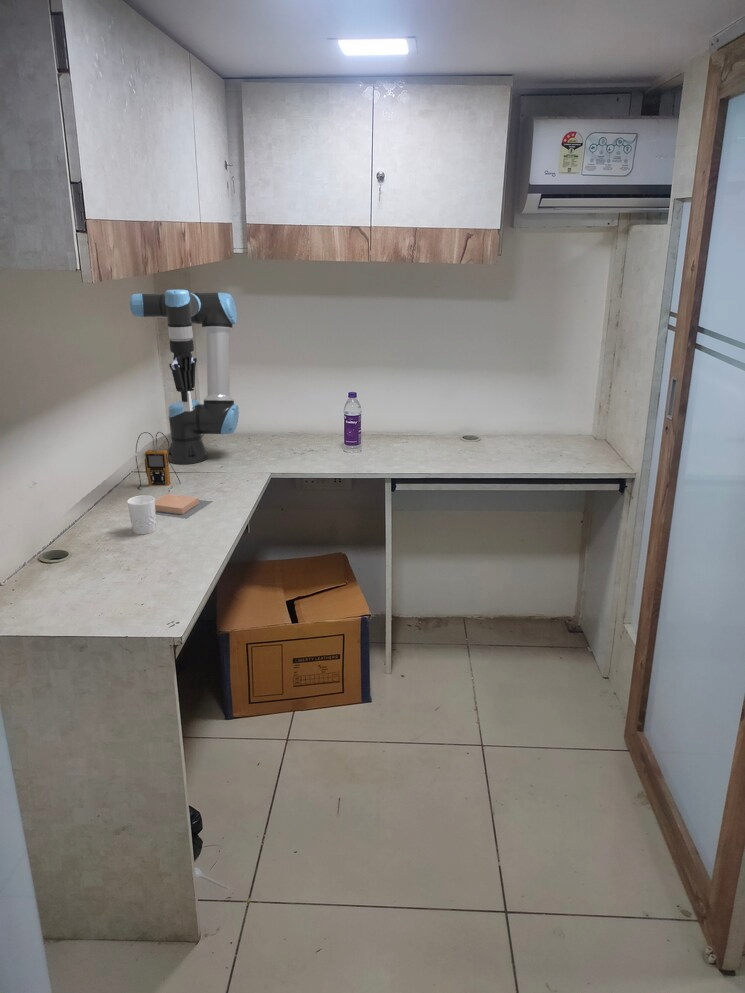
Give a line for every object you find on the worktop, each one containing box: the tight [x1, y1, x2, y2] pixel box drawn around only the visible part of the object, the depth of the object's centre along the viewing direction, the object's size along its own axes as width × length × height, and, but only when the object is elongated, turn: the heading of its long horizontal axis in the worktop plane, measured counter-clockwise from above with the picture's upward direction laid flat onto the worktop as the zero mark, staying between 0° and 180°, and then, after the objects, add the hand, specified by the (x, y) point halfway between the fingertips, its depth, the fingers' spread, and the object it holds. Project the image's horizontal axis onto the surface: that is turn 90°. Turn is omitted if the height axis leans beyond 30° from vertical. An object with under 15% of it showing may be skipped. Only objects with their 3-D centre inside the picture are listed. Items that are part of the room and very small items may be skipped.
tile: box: [155, 493, 200, 514], centre depth 234 cm, size 2×12×10 cm
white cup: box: [127, 495, 157, 535], centre depth 217 cm, size 8×8×10 cm
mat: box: [155, 499, 213, 520], centre depth 236 cm, size 16×18×1 cm
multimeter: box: [135, 431, 181, 491], centre depth 250 cm, size 15×10×20 cm
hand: (187, 410), depth 239 cm, fingers closed
